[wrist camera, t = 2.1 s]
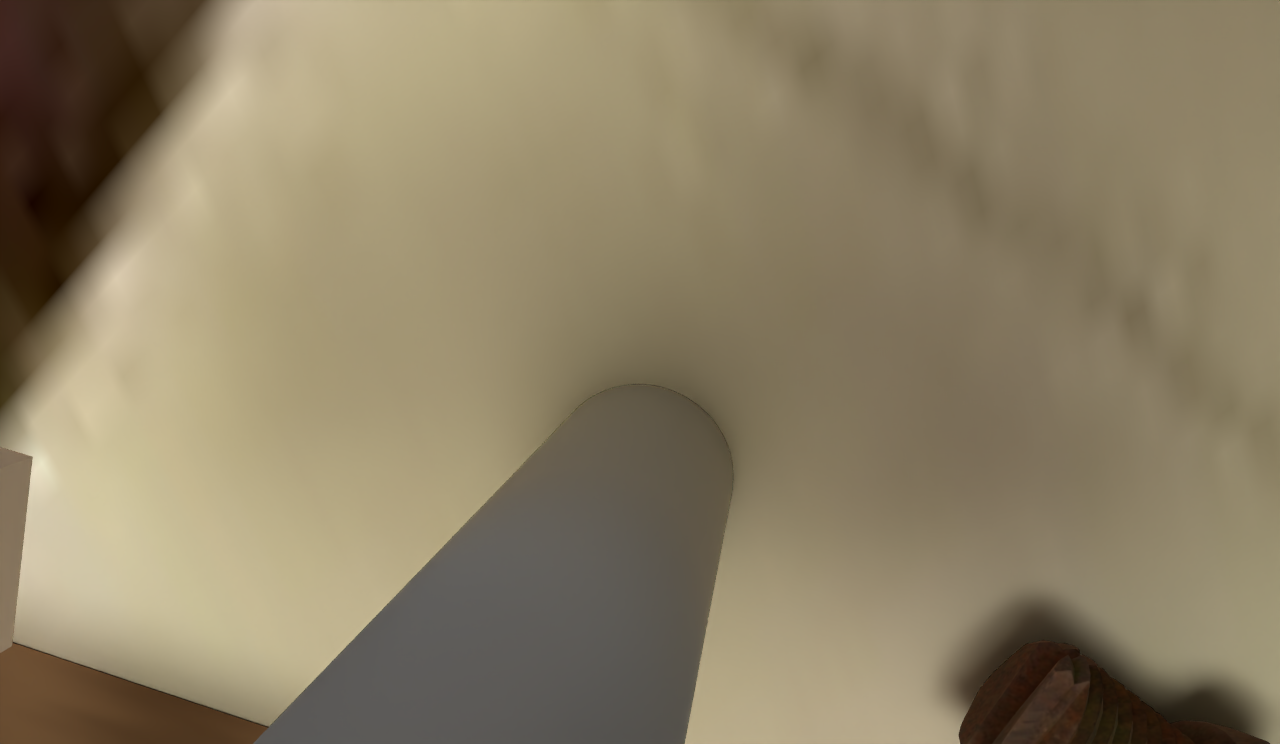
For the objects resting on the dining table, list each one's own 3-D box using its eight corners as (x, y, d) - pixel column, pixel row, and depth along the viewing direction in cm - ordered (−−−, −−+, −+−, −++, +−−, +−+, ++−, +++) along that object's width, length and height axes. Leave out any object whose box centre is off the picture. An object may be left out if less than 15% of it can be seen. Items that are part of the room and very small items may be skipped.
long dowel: (754, 413, 20) (678, 917, 6) (706, 583, 21) (544, 1355, 7) (574, 362, 20) (121, 728, 6) (534, 531, 21) (62, 1164, 7)
